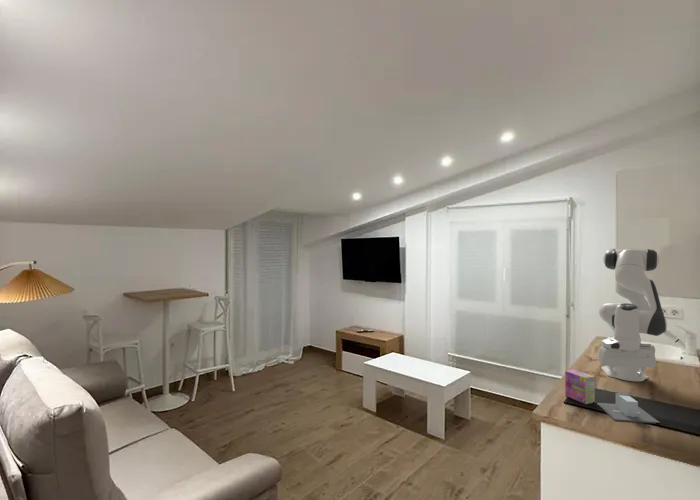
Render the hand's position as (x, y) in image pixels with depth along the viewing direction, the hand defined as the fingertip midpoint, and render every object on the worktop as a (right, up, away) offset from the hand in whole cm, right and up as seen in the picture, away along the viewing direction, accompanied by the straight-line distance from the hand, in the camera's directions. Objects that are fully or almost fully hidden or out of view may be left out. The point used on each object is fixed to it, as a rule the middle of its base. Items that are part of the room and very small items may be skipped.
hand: (626, 376), depth 160 cm
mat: (0, -15, 0) cm, 15 cm away
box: (-11, -15, +14) cm, 24 cm away
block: (0, -15, 0) cm, 15 cm away
